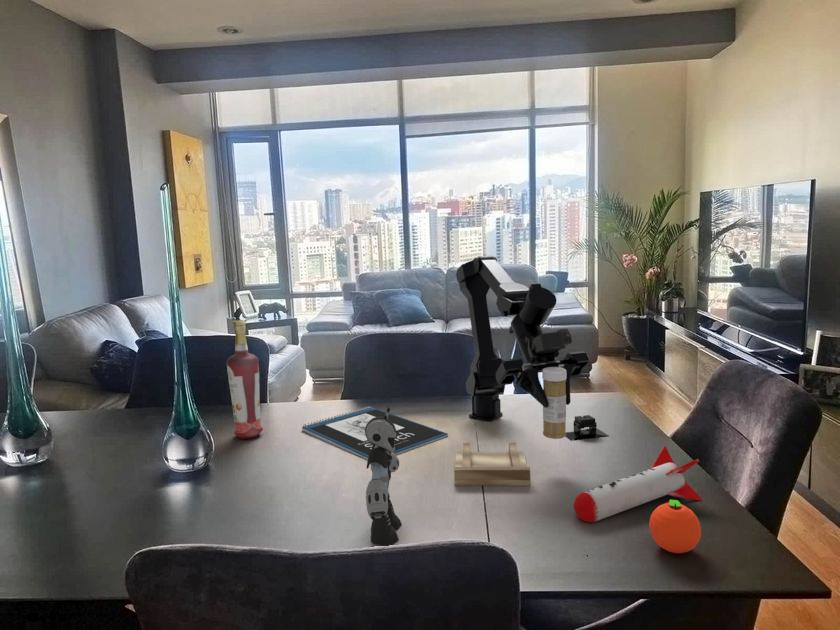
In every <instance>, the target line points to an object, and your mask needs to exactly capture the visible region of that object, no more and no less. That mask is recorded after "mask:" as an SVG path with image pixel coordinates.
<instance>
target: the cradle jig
mask: <svg viewBox="0 0 840 630" xmlns="http://www.w3.org/2000/svg"><path fill="white" fill-rule="evenodd" d="M530 468H531V467H530V466H528V464H527V462H526V457H525V453H524V451H519V450H518V446H517V442H508V451H471V442H463V443H462V451H457V452H455V466H454V469H453V470H454V471H453V472H454V474H453V476H454V486H531V469H530Z"/></svg>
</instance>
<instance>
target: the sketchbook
mask: <svg viewBox="0 0 840 630" xmlns="http://www.w3.org/2000/svg"><path fill="white" fill-rule="evenodd" d="M385 414H386V411H385V410H382V409H378V408H375V407H372V406H369V405H368V406H366V407H362V408H359V409H355V410H351V411H347V412H344V413H341V414H336V415H334V416H330V417H327V418H323V419H319V420H316V421H314V422H310V423H307V424H306V423H305V424H303V425H302V427H301V431H302V432H304V433H307V434H308V435H311V436H313V437H315V438H317V439H320V440H322V441H325V442H326V443H329V444H331V445H334V446H335V447H338V448H341V449H343V450H344V451H347V452H348V453H352V454H353V455H356V456H358V457H360V458H363V459H365V460H368V457H369V454H370V452H371V450H372V447H373V444H374V443H372V442H371V441H370V440H367V438H366V436H365V428H366V425H367V423H368V422H369V421H370V420H371V419H373V418H375V417H384V416H385ZM388 419H389V420H390V421H391V422H392V423H394V426H395V428H396V437H395V442H394V447H395V450H394V452H393V453H394V454H395V455H396V456H397V455H400V454H402V453H405V452H409V451H411V450H414V449H416V448H419V447H422V446H425V445H428V444H430V443H432V442H435V441H439V440H441V439H444V438H447V437H449V433H447V432H444V431H442V430H439V429H436V428H433V427H430V426H427V425H424V424H423V423H419V422H416V421H413V420H411V419H407V418H405V417H401V416H398V415H395V414H393V413H390V412H389V416H388Z"/></svg>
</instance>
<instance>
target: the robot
mask: <svg viewBox="0 0 840 630" xmlns="http://www.w3.org/2000/svg"><path fill="white" fill-rule="evenodd" d="M390 411H391V408H390V407H387V409H386V411H385V412H386V414H385V416H384V417H375V418H373V419H371V420H370V421H369V422H368V423H367V425H366V428H365V436H366V438H367V440H370V441H371V442H372V443H374V444H373V447H372V450H371V452H370V454H369V457H368V460H367V459H366V460H367V462H366V469H367V470H368V469H369V468H370V470H371V473H372V474H371V480H370V481H368V483H367V487H366V491H365V500H366V503H365V504H366V511H367V514H368V516H369V518H370V519H371V525H370V526H371V527H370V540H371V543H372V544H375V545H378V546H383V547H384V546H385V547H386V546H393V545H394V544H395V543H397V542H398V541H399V540H400V539H399V537H398V534H397V532H396V530H399V529H400V527H402V525H403V524H402V521H401V519H400V518H399V517H398V516H397V515H396V513H395V509H394V506H393V503H392V500H391V499H390V496H391V495H390V493H389V485H390V481H391V477H392V473H395V472H396V471H397V470H399V467H400V460H399V457H398V456H397V455H395V454H394V453H393V452H394V450H395V447H394V442H395V437H396V428H395V426H394V423H392V422H391V421H390V420H389V419H388V416H389V413H390Z"/></svg>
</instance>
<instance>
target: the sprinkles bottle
mask: <svg viewBox="0 0 840 630" xmlns="http://www.w3.org/2000/svg"><path fill="white" fill-rule="evenodd" d="M541 374H542V375H541V377H542V379H543V380H542V382H543V383H542V385H543V387H542V388H543V391H544V393H545V395H546V398H547V401H548V404H549V406H548V407H547V408H545V407H544V406H543V405H542V419H543V421H542V422H543V424H542V425H543V426H542V427H543V429H542V430H543V431H542V435H543V437H545V438H548V439H554V440H559V439H564V438H565V436H566V432H567V431H566V430H567V429H566V423H567V422H566V421H567V404H566V378H567V374H566V369H564V368H560V367H547V368H544V369H543V370H542V372H541Z"/></svg>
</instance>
